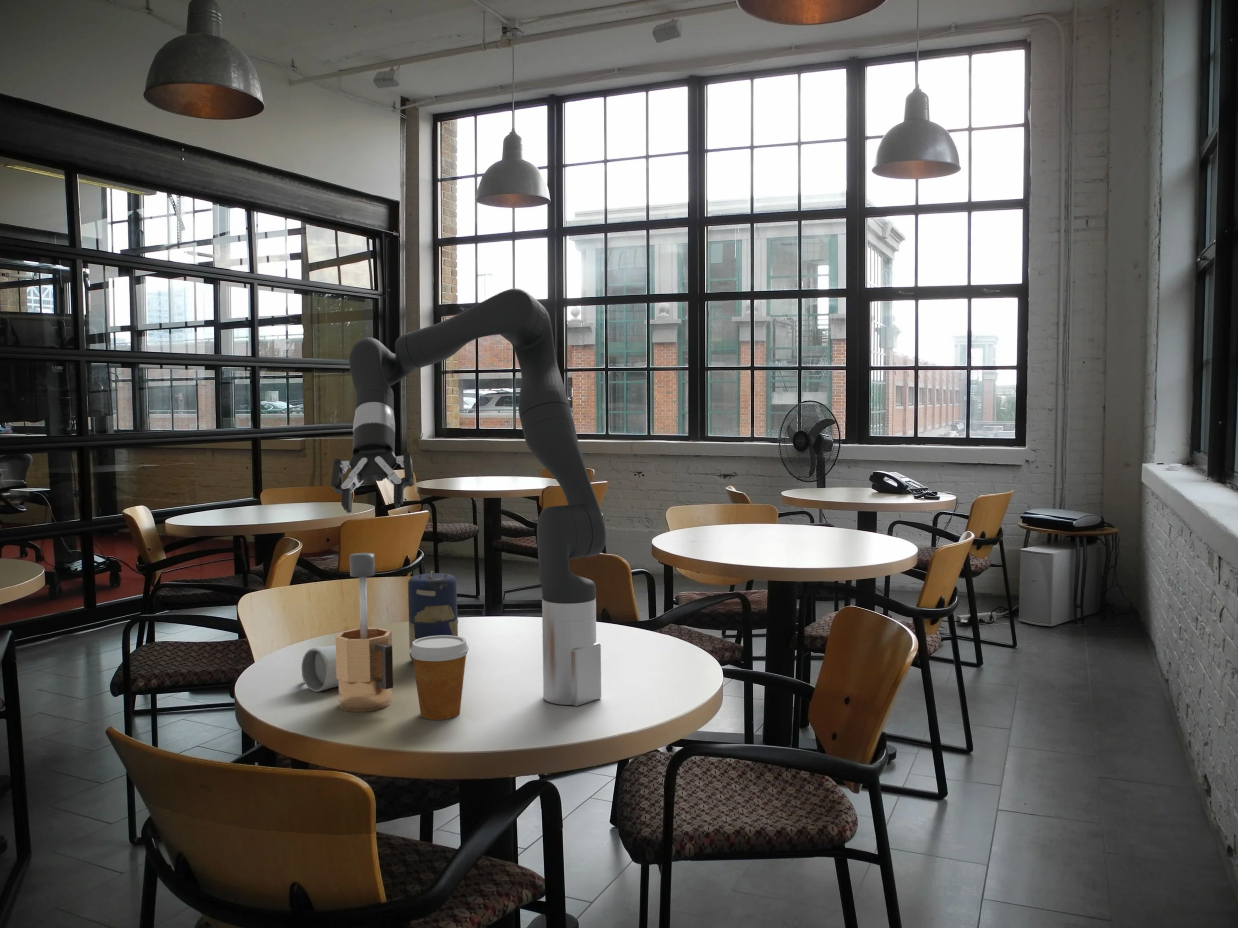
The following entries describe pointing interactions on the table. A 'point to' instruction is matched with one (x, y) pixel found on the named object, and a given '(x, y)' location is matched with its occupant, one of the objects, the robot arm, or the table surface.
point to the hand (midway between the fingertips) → (372, 508)
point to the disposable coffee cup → (439, 674)
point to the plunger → (362, 583)
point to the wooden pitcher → (364, 669)
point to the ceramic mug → (320, 668)
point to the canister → (432, 606)
